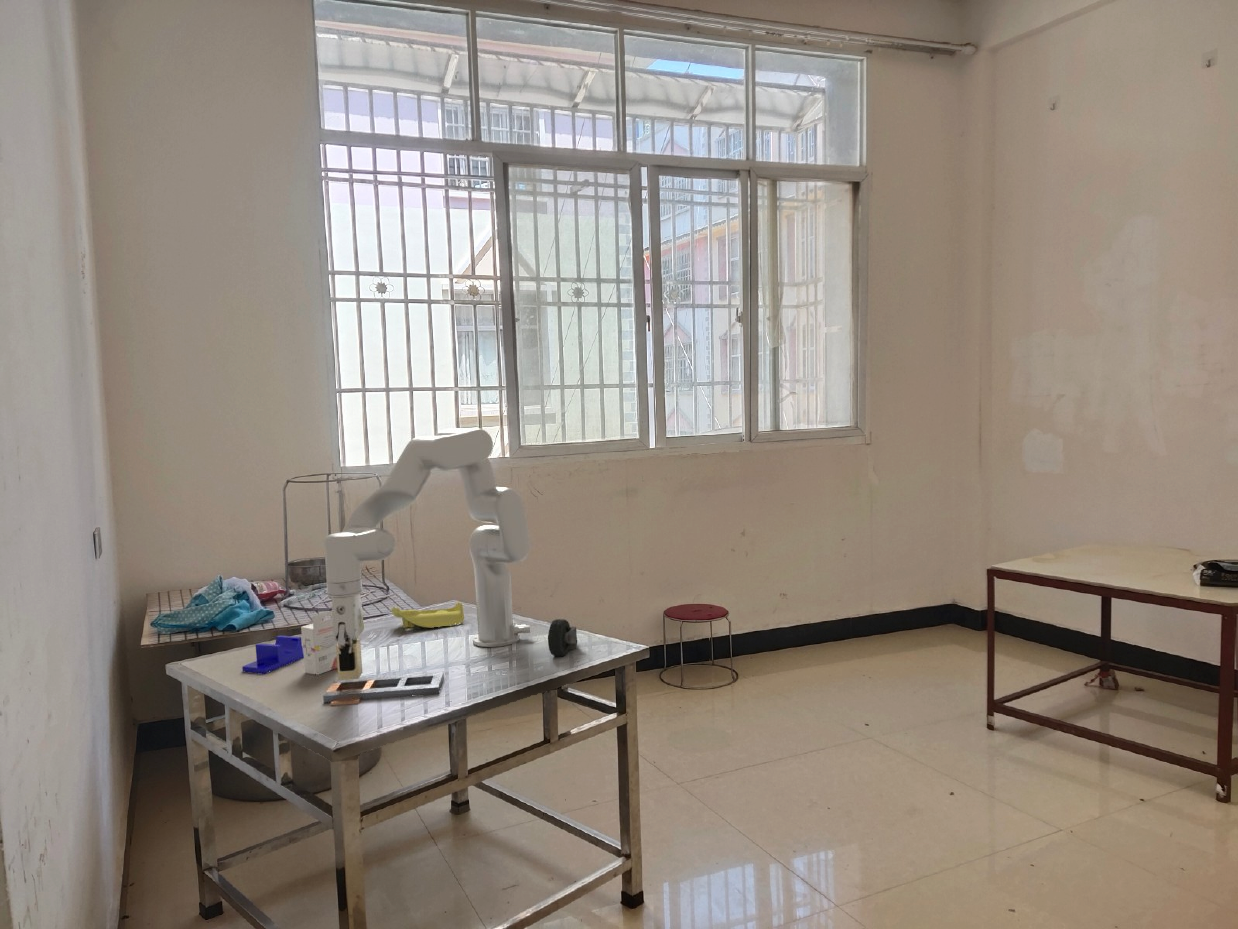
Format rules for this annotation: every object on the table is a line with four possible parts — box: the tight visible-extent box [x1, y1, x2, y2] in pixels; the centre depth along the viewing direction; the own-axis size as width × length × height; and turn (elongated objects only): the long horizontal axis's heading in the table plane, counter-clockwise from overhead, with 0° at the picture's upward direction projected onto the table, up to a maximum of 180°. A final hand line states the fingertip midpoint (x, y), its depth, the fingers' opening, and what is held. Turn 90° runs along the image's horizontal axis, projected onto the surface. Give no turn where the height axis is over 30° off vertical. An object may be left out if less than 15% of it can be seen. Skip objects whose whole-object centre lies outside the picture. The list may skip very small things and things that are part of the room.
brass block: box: [336, 638, 363, 680], centre depth 190 cm, size 4×4×8 cm
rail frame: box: [322, 671, 445, 706], centre depth 190 cm, size 25×13×2 cm, turn 96°
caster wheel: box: [547, 618, 578, 657], centre depth 215 cm, size 6×10×15 cm
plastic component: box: [391, 601, 465, 629], centre depth 247 cm, size 20×7×10 cm
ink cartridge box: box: [300, 610, 338, 676], centre depth 209 cm, size 9×5×15 cm, turn 148°
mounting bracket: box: [241, 634, 304, 675], centre depth 217 cm, size 18×7×6 cm, turn 159°
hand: (349, 666), depth 190 cm, fingers closed on brass block, 4 cm apart
